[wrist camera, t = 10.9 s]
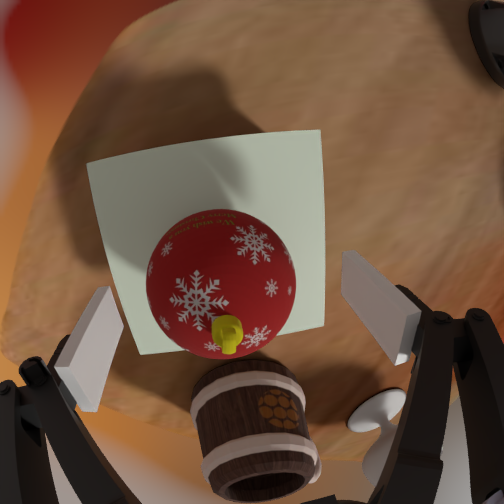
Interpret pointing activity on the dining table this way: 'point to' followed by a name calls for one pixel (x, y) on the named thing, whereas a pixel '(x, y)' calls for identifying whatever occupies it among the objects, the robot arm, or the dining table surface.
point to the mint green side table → (207, 198)
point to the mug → (253, 432)
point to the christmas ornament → (220, 284)
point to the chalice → (371, 417)
